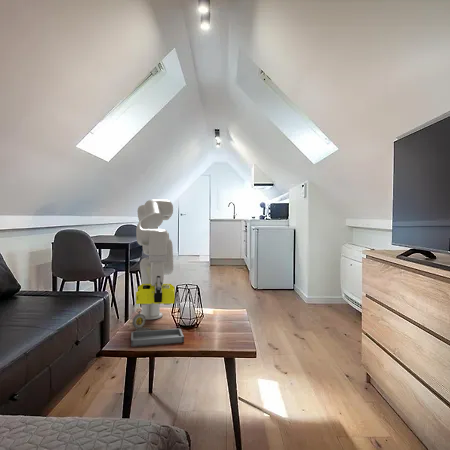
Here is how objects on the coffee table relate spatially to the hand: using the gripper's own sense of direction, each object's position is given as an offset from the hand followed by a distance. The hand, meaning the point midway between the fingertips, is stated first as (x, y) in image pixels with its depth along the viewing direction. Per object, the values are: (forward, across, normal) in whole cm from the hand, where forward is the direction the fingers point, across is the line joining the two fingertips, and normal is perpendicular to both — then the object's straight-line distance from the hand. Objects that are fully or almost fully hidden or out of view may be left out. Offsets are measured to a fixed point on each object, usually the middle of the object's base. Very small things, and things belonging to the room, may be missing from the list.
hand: (157, 299), depth 153 cm
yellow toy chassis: (+2, 0, -1) cm, 2 cm away
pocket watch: (+18, -13, -6) cm, 23 cm away
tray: (+17, 0, 0) cm, 17 cm away
